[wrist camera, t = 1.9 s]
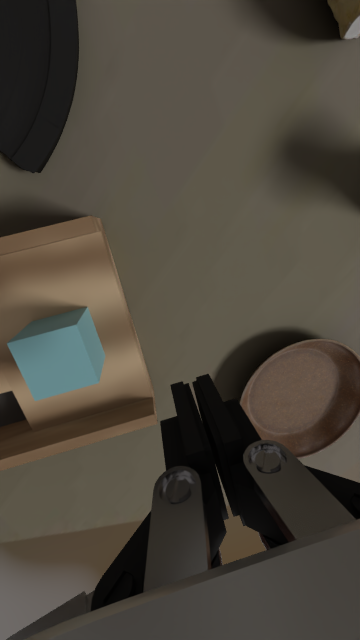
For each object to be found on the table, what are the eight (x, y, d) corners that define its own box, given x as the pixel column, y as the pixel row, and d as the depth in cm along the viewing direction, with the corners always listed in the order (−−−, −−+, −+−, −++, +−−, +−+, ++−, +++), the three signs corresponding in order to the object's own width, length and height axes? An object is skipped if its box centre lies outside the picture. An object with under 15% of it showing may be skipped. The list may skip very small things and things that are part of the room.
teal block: (31, 321, 22) (6, 343, 18) (87, 306, 22) (76, 324, 18) (52, 370, 23) (34, 401, 19) (105, 355, 24) (99, 383, 20)
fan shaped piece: (128, 6, 20) (128, -13, 18) (44, 181, 22) (37, 178, 21) (10, -100, 17) (-2, -132, 16) (-69, 110, 20) (-87, 100, 18)
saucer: (374, 358, 32) (395, 368, 30) (307, 456, 36) (320, 473, 33) (273, 309, 28) (286, 316, 26) (207, 424, 32) (213, 441, 29)
